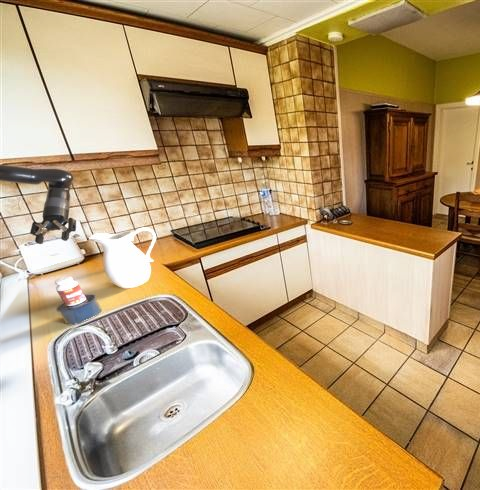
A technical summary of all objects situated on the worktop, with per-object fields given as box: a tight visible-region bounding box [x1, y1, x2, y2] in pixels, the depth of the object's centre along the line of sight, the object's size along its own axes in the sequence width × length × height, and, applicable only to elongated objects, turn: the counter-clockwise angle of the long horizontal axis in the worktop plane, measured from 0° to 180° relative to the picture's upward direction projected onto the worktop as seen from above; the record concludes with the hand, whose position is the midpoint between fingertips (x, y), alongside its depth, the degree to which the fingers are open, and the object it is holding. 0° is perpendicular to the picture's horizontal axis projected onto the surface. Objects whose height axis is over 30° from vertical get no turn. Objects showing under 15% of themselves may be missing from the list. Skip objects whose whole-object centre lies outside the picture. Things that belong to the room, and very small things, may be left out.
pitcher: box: [88, 226, 157, 289], centre depth 133 cm, size 24×17×28 cm
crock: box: [55, 293, 103, 325], centre depth 111 cm, size 12×12×7 cm
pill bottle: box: [54, 275, 86, 306], centre depth 107 cm, size 6×6×11 cm
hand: (51, 241), depth 115 cm, fingers open, 8 cm apart
